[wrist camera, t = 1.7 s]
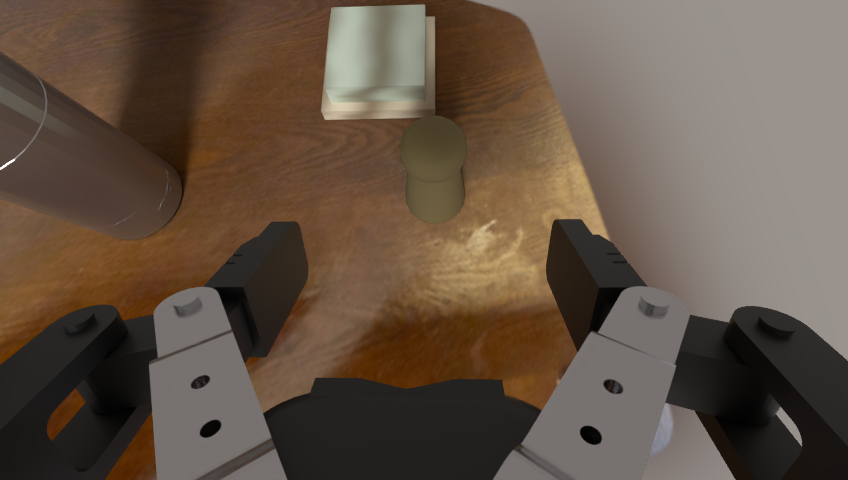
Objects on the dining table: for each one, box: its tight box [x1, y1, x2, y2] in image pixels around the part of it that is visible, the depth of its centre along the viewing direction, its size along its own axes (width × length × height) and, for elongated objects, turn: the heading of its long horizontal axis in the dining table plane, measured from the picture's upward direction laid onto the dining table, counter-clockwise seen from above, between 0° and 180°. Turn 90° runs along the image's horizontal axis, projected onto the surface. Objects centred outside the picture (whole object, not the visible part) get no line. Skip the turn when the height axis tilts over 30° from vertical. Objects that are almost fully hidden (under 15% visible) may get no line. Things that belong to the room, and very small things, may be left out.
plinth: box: [321, 4, 435, 120], centre depth 41 cm, size 12×12×4 cm
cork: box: [400, 115, 467, 224], centre depth 33 cm, size 6×6×11 cm
